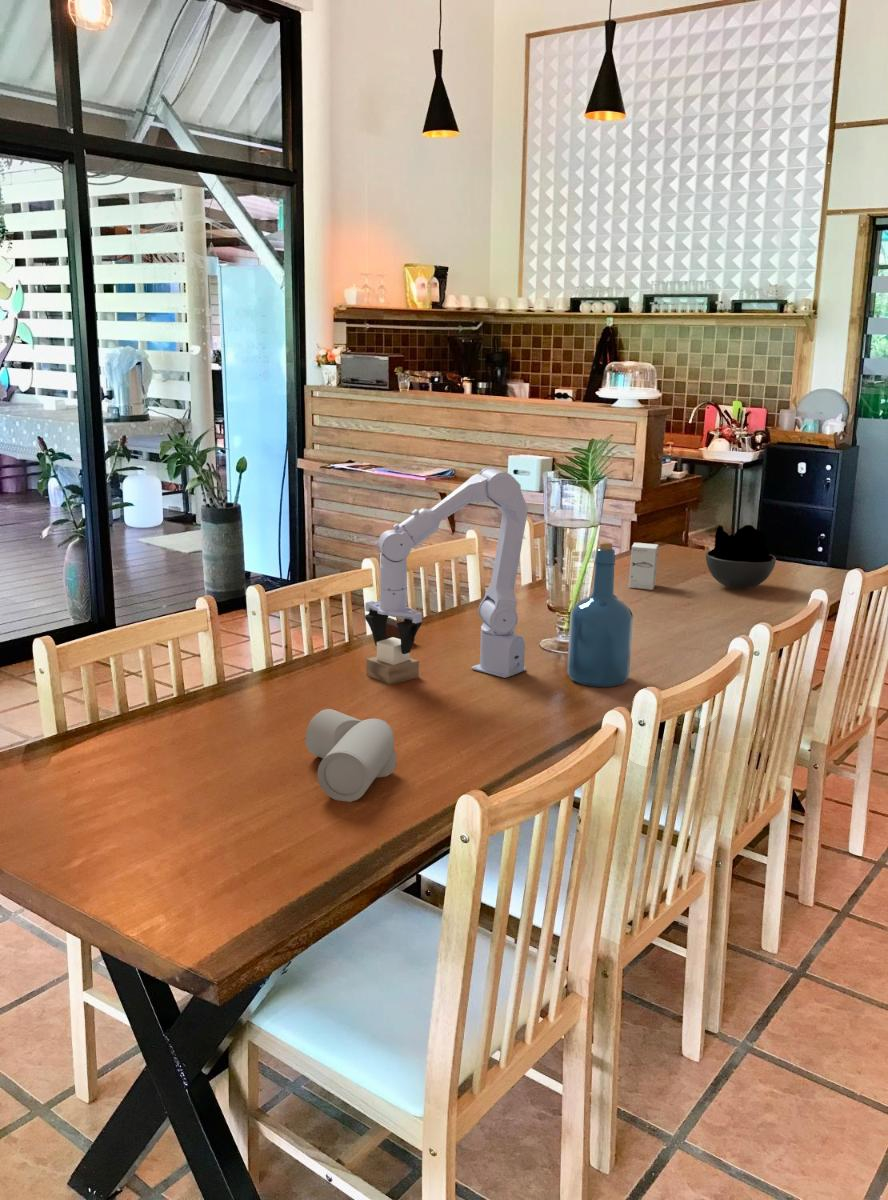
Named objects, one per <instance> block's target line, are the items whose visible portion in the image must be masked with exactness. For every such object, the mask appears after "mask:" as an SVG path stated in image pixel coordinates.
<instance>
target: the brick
mask: <svg viewBox="0 0 888 1200" xmlns="http://www.w3.org/2000/svg"><path fill="white" fill-rule="evenodd" d="M399 622H401V621H400V620H396V619H394V618H393V617H390V616H388V619H387V623H386V630H385V639H389V638H392V637H394V638H398V639H401V638H400V632H399V629H398V626H397V623H399ZM415 638H416V637H415ZM415 638H414V641H413V644H414V643H415Z"/></svg>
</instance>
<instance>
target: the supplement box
mask: <svg viewBox="0 0 888 1200" xmlns="http://www.w3.org/2000/svg"><path fill="white" fill-rule="evenodd" d="M658 554H659V544H656V543H654V544H653V543H646V542H645V543H643V542H633V544H632V545H631V554H630V564H629V577H628V580H629V581H628V589H640V590H648V591H649V590H650V591H652V590H654V588H655V586H656V585H655V584H656V576H657V568H658V566H657V565H658Z"/></svg>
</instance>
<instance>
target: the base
mask: <svg viewBox="0 0 888 1200" xmlns="http://www.w3.org/2000/svg"><path fill="white" fill-rule="evenodd" d="M365 664H366V667H365V668H366V671H365V674H366V676H367V677H370V678H373V679H375V680H377V681H379V682H381V683H384V684H387V685H393V684H397V683H401V682H404V681H405V682H406V681H409V680H413V679H417V678H419V676H420V675H419V674H420V673H419V672H420V671H419V670H420V660H417V659H415V658H412V657H410V660H407V661H404V662H401V663H398V664H395V665H392V664H389V663H385V662H382V661H379V660H377V655H376V656H371V657H367V658H366V661H365Z"/></svg>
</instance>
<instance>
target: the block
mask: <svg viewBox="0 0 888 1200" xmlns="http://www.w3.org/2000/svg"><path fill="white" fill-rule="evenodd" d="M376 656H377V660H379V661H382V662H385V663H389V664H392V665H395V664H398V663H401V662H404V661H407V660H410V658H411V657H410V656H411V652H410V653H407V654H402V652H401V639H398V638H394V637H392V638H389V639H385V640H382V641H378V642H377V647H376Z"/></svg>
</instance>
